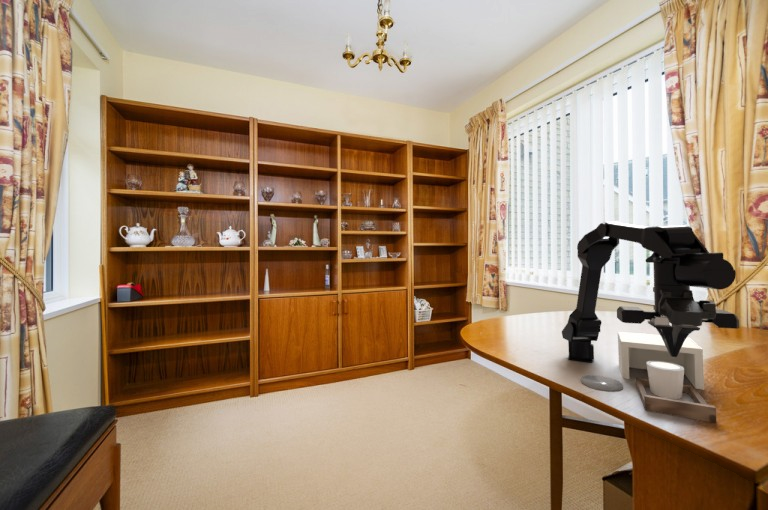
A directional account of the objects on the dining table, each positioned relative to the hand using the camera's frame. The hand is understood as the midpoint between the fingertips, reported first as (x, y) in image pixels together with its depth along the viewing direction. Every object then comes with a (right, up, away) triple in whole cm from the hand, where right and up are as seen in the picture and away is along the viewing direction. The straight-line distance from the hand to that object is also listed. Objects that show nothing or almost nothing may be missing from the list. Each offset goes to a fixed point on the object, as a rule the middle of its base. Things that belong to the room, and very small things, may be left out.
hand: (673, 356), depth 68 cm
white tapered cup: (+5, -12, +8) cm, 15 cm away
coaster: (-5, -12, +15) cm, 20 cm away
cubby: (+13, -11, +19) cm, 25 cm away
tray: (+4, -12, +5) cm, 13 cm away
